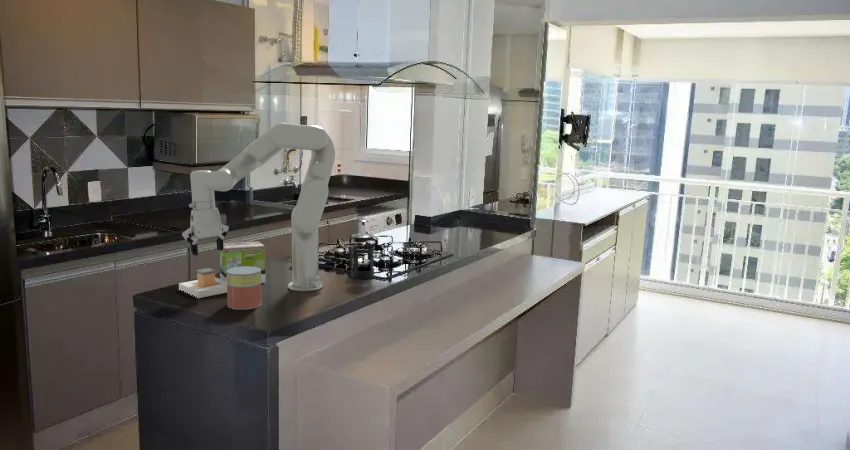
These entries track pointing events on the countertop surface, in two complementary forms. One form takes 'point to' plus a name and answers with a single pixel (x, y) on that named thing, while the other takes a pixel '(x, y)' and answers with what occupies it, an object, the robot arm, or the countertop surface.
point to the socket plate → (199, 292)
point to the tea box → (242, 257)
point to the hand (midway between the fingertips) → (207, 252)
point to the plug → (206, 277)
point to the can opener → (324, 264)
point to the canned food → (244, 287)
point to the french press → (362, 271)
